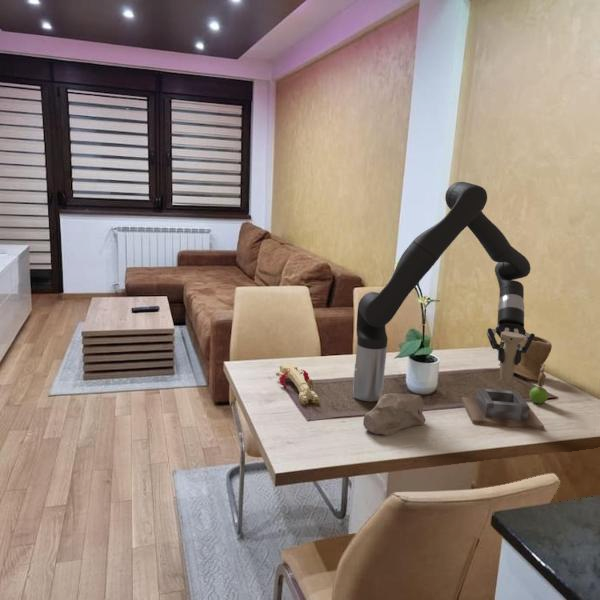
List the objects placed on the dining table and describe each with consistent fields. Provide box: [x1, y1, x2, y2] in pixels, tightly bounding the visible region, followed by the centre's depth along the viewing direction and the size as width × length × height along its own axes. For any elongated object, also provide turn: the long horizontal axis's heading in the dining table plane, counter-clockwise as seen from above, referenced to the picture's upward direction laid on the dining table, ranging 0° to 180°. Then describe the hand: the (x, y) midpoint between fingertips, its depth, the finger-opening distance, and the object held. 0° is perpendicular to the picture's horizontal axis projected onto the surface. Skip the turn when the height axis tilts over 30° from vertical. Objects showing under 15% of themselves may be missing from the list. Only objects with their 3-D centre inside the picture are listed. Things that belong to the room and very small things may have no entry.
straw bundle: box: [275, 362, 320, 405], centre depth 168 cm, size 10×9×25 cm
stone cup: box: [498, 335, 553, 381], centre depth 191 cm, size 15×12×15 cm
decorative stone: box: [362, 392, 426, 436], centre depth 146 cm, size 20×8×10 cm, turn 123°
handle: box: [499, 331, 525, 385], centre depth 154 cm, size 5×6×15 cm
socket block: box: [460, 387, 545, 431], centre depth 158 cm, size 20×16×6 cm
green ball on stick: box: [528, 364, 549, 405], centre depth 167 cm, size 5×6×12 cm
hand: (509, 362), depth 152 cm, fingers closed on handle, 3 cm apart
